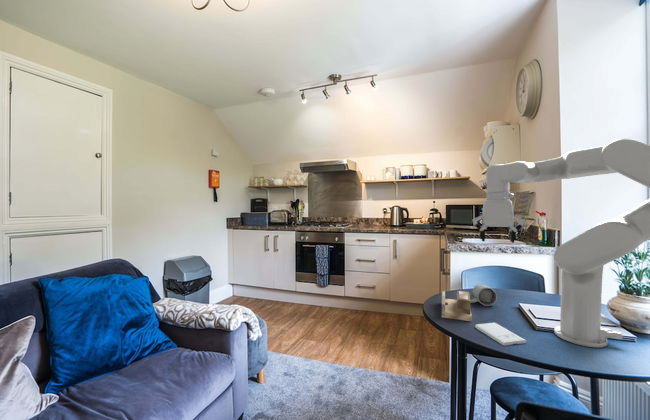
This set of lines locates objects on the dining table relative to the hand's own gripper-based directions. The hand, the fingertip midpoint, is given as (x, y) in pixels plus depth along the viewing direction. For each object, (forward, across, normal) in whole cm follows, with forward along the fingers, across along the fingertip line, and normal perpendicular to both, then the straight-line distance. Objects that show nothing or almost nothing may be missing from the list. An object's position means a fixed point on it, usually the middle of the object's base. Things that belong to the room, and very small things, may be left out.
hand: (497, 241), depth 108 cm
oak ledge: (+28, +14, +3) cm, 32 cm away
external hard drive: (+29, +2, +19) cm, 35 cm away
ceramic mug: (+29, +4, -11) cm, 31 cm away
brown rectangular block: (+26, +12, +4) cm, 29 cm away
